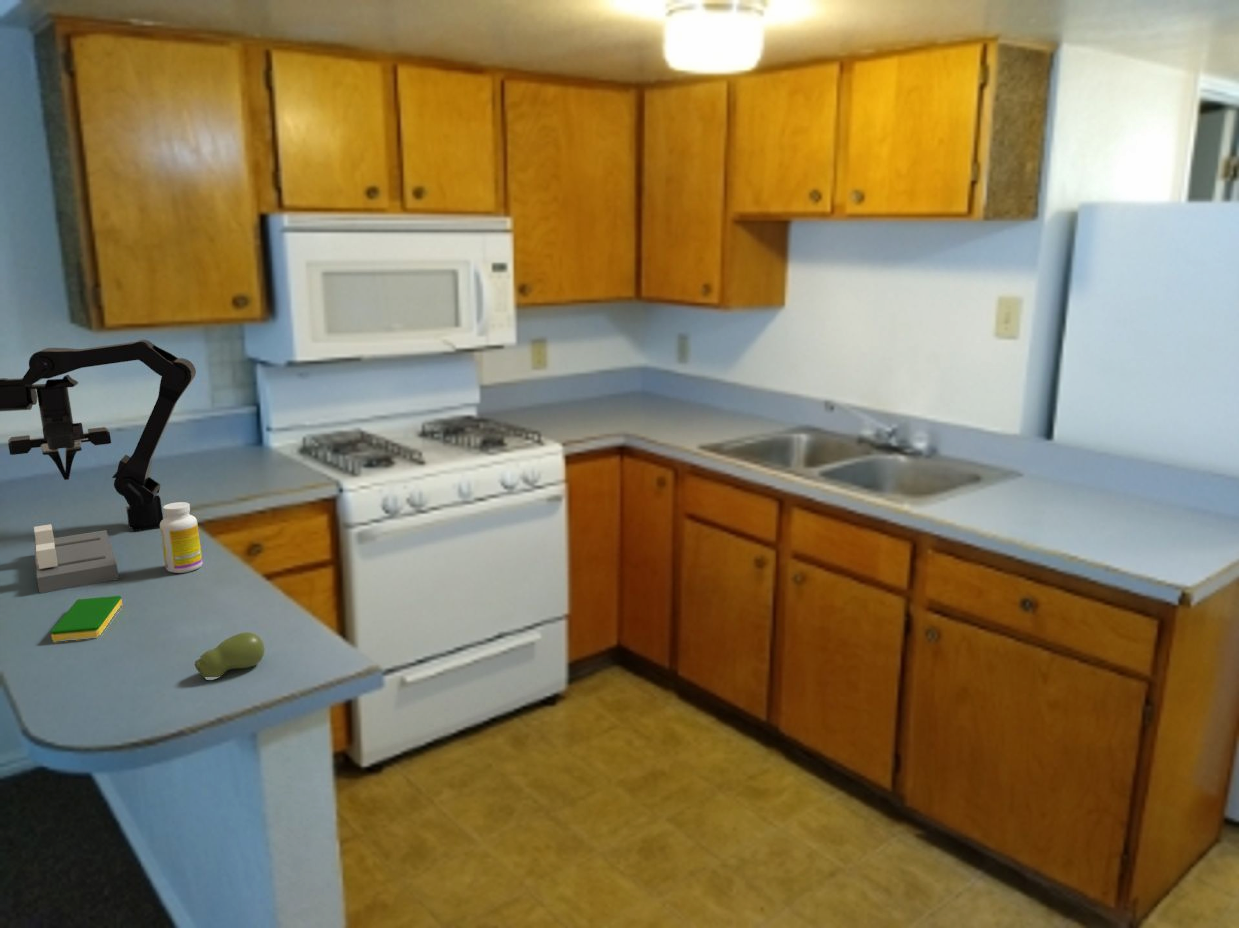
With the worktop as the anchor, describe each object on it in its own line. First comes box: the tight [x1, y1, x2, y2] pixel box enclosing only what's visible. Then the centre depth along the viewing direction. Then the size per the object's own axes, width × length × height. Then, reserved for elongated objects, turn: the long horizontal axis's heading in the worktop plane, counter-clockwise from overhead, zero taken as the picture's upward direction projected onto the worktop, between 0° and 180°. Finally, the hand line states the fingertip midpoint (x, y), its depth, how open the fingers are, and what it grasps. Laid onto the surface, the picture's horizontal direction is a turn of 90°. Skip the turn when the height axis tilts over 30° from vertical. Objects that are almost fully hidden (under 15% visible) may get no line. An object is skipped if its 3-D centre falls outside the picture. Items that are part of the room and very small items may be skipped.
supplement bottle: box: [159, 501, 203, 574], centre depth 185 cm, size 7×7×13 cm
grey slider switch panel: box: [33, 529, 119, 594], centre depth 187 cm, size 13×24×3 cm, turn 32°
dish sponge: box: [50, 595, 123, 642], centre depth 161 cm, size 7×14×2 cm, turn 12°
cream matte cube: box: [33, 523, 55, 545], centre depth 189 cm, size 3×4×4 cm
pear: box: [193, 632, 265, 678], centre depth 144 cm, size 6×5×10 cm
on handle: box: [36, 542, 58, 569], centre depth 178 cm, size 3×4×4 cm
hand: (66, 479), depth 205 cm, fingers closed
